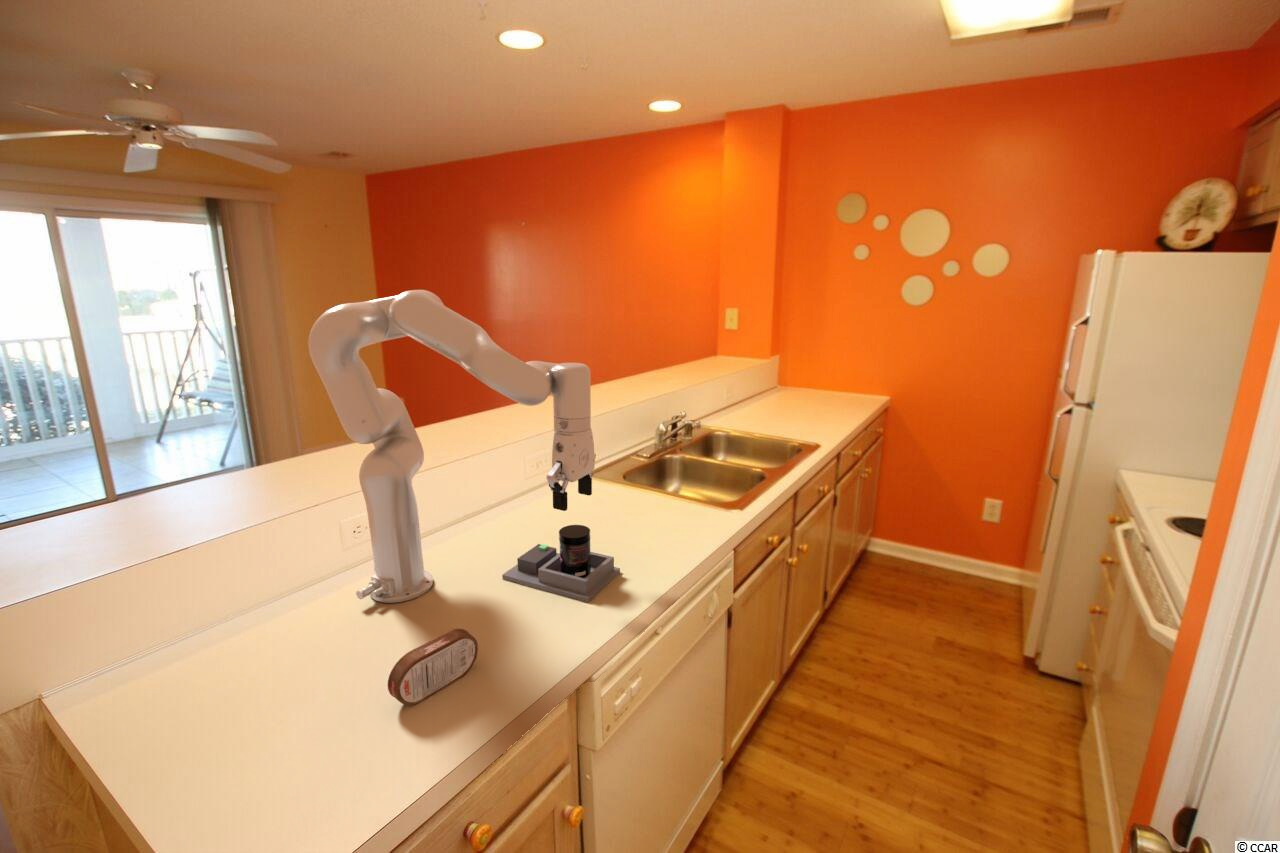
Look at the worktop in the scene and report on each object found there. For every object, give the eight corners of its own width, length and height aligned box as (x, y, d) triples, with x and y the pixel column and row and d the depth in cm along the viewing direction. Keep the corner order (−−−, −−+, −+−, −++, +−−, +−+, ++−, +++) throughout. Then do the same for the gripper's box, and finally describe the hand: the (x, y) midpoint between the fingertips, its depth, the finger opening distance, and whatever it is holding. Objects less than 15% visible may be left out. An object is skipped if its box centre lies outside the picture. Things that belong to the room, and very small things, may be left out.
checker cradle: (588, 602, 119) (587, 582, 118) (502, 578, 129) (501, 560, 127) (620, 572, 132) (619, 553, 130) (539, 552, 141) (538, 535, 140)
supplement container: (582, 564, 133) (581, 522, 130) (596, 577, 127) (595, 533, 124) (555, 572, 129) (553, 529, 126) (568, 585, 124) (566, 540, 121)
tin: (471, 660, 101) (468, 618, 99) (482, 668, 100) (479, 625, 97) (389, 709, 90) (383, 662, 88) (399, 718, 88) (394, 670, 86)
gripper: (564, 435, 110) (565, 519, 115) (608, 417, 125) (608, 491, 130) (532, 430, 113) (534, 512, 118) (578, 413, 128) (579, 486, 133)
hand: (573, 501), depth 124 cm, fingers open, 9 cm apart
